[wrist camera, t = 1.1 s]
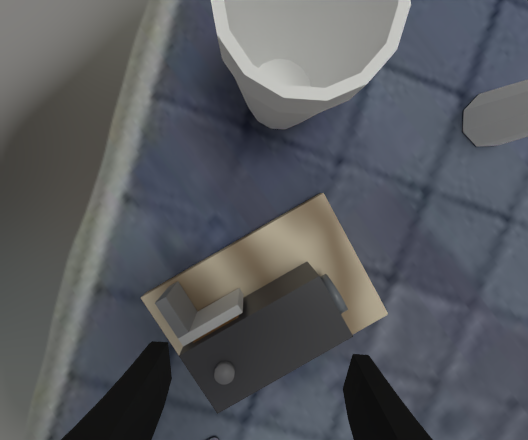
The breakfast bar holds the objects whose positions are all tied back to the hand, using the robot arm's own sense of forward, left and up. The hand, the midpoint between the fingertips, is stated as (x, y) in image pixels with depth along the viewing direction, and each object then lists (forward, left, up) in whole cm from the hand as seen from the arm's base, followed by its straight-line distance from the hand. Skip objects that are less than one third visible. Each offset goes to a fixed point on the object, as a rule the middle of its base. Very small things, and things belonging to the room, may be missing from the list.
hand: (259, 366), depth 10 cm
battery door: (-5, 0, -15) cm, 16 cm away
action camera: (-2, -5, -15) cm, 16 cm away
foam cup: (+10, +13, -17) cm, 23 cm away
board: (-1, -4, -16) cm, 17 cm away
